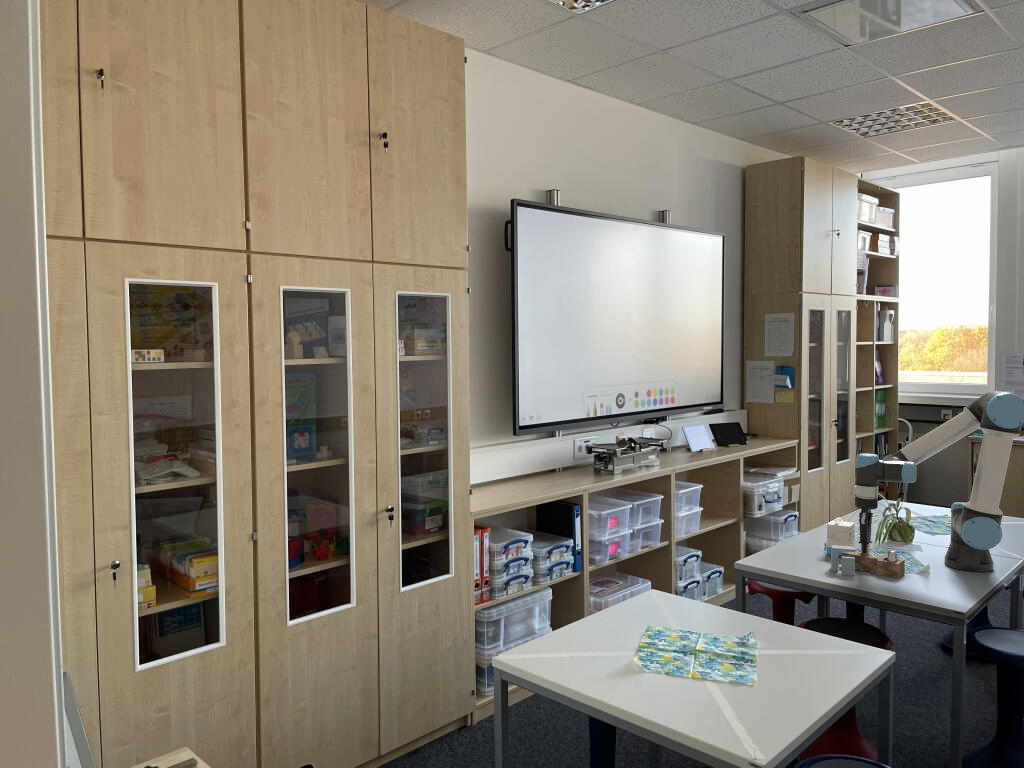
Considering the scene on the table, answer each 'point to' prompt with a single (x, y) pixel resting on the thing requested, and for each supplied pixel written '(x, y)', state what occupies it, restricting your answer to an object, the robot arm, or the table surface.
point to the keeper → (843, 560)
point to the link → (878, 564)
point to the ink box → (840, 534)
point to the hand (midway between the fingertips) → (864, 561)
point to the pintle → (892, 556)
